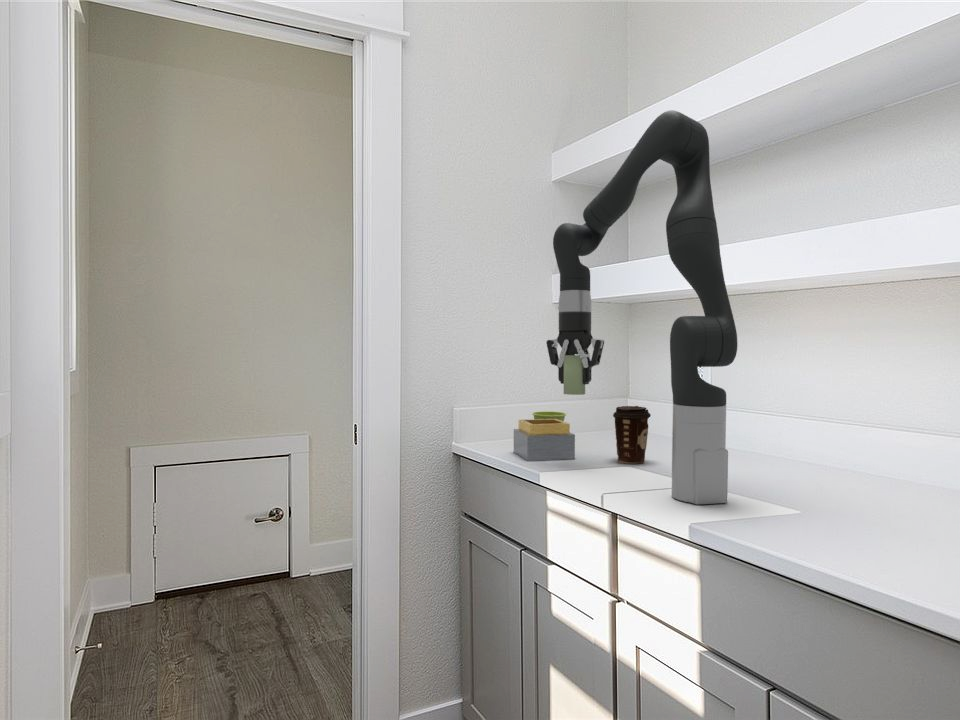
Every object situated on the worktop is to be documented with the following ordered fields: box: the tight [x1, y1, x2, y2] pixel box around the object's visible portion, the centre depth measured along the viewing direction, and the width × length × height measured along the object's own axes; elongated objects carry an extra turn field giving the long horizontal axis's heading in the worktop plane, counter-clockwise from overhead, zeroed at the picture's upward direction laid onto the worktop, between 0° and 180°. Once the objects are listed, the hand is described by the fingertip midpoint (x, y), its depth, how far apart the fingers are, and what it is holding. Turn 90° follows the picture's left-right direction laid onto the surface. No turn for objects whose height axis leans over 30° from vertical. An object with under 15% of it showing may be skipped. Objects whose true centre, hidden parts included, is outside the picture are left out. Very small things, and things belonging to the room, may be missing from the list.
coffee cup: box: [612, 405, 652, 465], centre depth 152 cm, size 9×8×13 cm
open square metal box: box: [513, 418, 576, 462], centre depth 159 cm, size 12×12×8 cm
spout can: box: [563, 354, 586, 396], centre depth 149 cm, size 5×5×10 cm
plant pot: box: [531, 410, 567, 422], centre depth 176 cm, size 9×9×9 cm
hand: (574, 383), depth 149 cm, fingers closed on spout can, 5 cm apart
